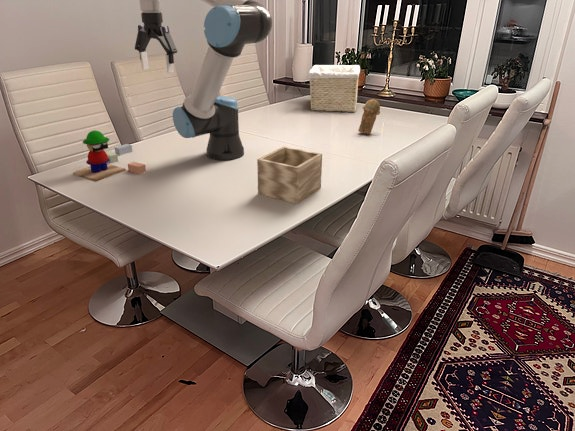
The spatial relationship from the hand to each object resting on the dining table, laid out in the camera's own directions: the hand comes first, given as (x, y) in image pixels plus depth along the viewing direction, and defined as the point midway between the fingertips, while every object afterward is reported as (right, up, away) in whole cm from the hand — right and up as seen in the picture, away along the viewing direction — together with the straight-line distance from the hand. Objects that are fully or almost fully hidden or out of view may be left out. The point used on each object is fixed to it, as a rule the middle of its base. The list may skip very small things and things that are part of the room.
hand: (157, 70), depth 186 cm
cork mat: (-18, -40, -11) cm, 46 cm away
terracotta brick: (-5, -40, -10) cm, 42 cm away
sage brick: (-19, -35, +1) cm, 40 cm away
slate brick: (-16, -31, +9) cm, 36 cm away
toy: (-18, -40, -11) cm, 45 cm away
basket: (+77, +5, +83) cm, 113 cm away
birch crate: (+51, -48, -25) cm, 75 cm away
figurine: (+88, -18, +37) cm, 97 cm away
